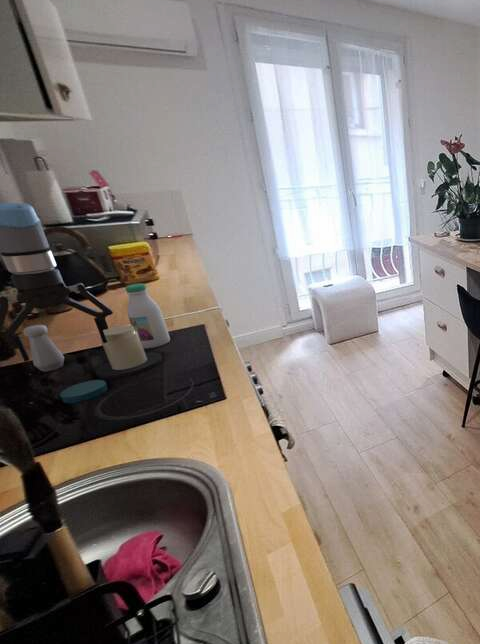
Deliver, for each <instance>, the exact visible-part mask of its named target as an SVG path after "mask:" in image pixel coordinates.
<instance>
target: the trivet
mask: <svg viewBox="0 0 480 644" xmlns="http://www.w3.org/2000/svg"><path fill="white" fill-rule="evenodd" d="M145 354H146V357H147V361H146V362H144V363H143V364H141V365H138V366H135V367H132V368H128V369H122V370H114V369H112V368H111V365H110V363H109V361H106V362H104V363H102V364H100V366H98V367H97V368H96V369H95V371H94V372H95V375H96V377H97V378H100V379H107V380H108V379H109V380H110V379H119V378H125V377H129V376H133V375H136V374H140V373H144V372H145V371H149V370H150V369H153V368H154V367H157V366H158V365H159V364H160V363H161V362H162V361H163V357H162V354H161V353H159V352H155V351H145Z"/></svg>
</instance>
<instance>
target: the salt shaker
mask: <svg viewBox="0 0 480 644" xmlns="http://www.w3.org/2000/svg"><path fill="white" fill-rule="evenodd" d="M48 332H49V331H48V327H47V326H46V325H44V324H36V325H31V326H27V327H25V328H24V329H23V330H22V333H23V335H24V336H25V337H26V338H28V339H29V345H30V351H31V358H32V363H33V366H34V367H35V368H37V369H38V370H39V371H41V372H51V371H56V370H59V369H60V368H62V367H64V364H65V363H64V362H65V356H64V354H62V352H61V351H60V349H58V347H57V346H56V344H54V343H53V341H52V339H51V338H49V336H48V335H47V334H48Z"/></svg>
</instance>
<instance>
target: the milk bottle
mask: <svg viewBox="0 0 480 644" xmlns="http://www.w3.org/2000/svg"><path fill="white" fill-rule="evenodd" d="M124 290H125V292H126V294H127V295H128V303H127V307H126V311H127V317H128V320H129V323H130V326H133V328H134V330H136V331H137V332H138V334H139V337H140V340H141V343H142V346H143V348H144V349H154V348H158V347H162V346H164V345H167V344H168V343H170V341H171V337H170V334H169V331H168V327H167V324H166V322H165V319H164V315H163V313H162V311H161V308H160V306H159V304H158V303H157V302H156V301H155V300H154V299H153V298H152V297H151V296H150V295H149V294H148V289H147V286H146V283H133V284H129V285H126V286H125V287H124Z"/></svg>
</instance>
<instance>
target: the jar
mask: <svg viewBox="0 0 480 644" xmlns="http://www.w3.org/2000/svg"><path fill="white" fill-rule="evenodd" d="M103 332H104V334H105V337H106V340H107V343H103V341H102V338H101V337H100V338H99V340H100V343H101V345H102V348H103V350H104V352H105V355H106V358H107V360H108V362H109V363H110V365H111V368H112V369H114V370H122V369H128V368H132V367H135V366H138V365H141V364H143V363H144V362H146V361H147V357H146V354H145V352H146V351H145V348H143V346H142V343H141V340H140V337H139V334H138V332H137V331H136V330H134V328H133V326H131V325H120V326H114V327H111V328H108V329H106V330H103Z"/></svg>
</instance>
